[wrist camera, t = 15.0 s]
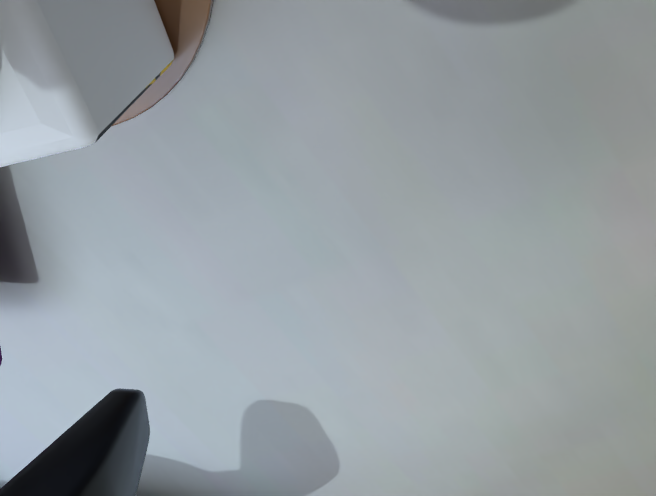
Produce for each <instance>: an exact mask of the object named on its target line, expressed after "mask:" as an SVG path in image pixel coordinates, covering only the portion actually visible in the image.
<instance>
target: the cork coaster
mask: <svg viewBox="0 0 656 496" xmlns="http://www.w3.org/2000/svg"><path fill="white" fill-rule="evenodd" d="M154 1H155V4H156V6H157V9H158V12H159V14H160V17H161V20H162V22H163V25H164V27H165V30H166V33H167V35H168V38H169V41H170V43H171V46H172V49H173V52H174V60H173V62H172V64H171V65H170V66H169V67H168V68H167V69H166V70H165V71H164V72H163V74H162V75H161V76H160V77H159V78H158V79H157V80H156V81H155V82H154V83H153V84H152V85H151V86H150V87H149V88H148V89H147V90H146V91H145V92H144V93H143V94H142V95H141V96H140V97H139V98H138V99H137V100H136V101H135V102H134V103H133V104H132V105H131V106H130V107H129V108H128V109H127V110H126V111H125V112H124V114H123V115H122V116H121V117H120V118H119V119H118V120H117V121H116V122H115V123H114V124H113V125H117V124H119V123H122V122H124V121H127V120H129V119H132V118H134V117H136V116H138V115H139V114H141V113H143V112H145V111H146V110H148V109H150V108H151V107H153V106H154V105H155V104H156V103H157V102H159V101H160V100H161V99H162V98H164V97H165V96H166V95H167V94H168V93H169V92H170V91H171V90H172V89H173V87H174V86H175V85H176V84H177V83H178V82H179V81H180V80H181V79H182V77H183V76H184V74H185V73H186V71H187V70H188V68H189V67H190V65H191V64H192V62H193V61H194V59H195V57H196V55H197V52H198V50H199V48H200V46H201V44H202V42H203V39H204V36H205V33H206V30H207V27H208V23H209V20H210V16H211V10H212V4H213V0H154ZM113 125H112V126H113Z"/></svg>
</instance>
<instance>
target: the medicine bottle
mask: <svg viewBox="0 0 656 496" xmlns="http://www.w3.org/2000/svg"><path fill="white" fill-rule="evenodd" d="M173 60H174V52H173V49H172V46H171V43H170V41H169V38H168V35H167V33H166V30H165V27H164V25H163V22H162V20H161V17H160V14H159V12H158V9H157V6H156V4H155V1H154V0H0V167H3V166H8V165H12V164H16V163H20V162H25V161H29V160H33V159H37V158H42V157H46V156H50V155H54V154H59V153H63V152H67V151H71V150H75V149H80V148H84V147H88V146H90V145H92V144H93V143H95V142H96V141H97V140H98V139H99V138H100V137H101V136H102V135H103V134H104V133H105V132H106V131H107V130H108V129H109V128H110V127H111V126H112V125H113V124H114V123H115V122H116V121H117V120H118V119H119V118H120V117H121V116H122V115H123V114H124V112H125V111H126V110H127V109H128V108H129V107H130V106H131V105H132V104H133V103H134V102H135V101H136V100H137V99H138V98H139V97H140V96H141V95H142V94H143V93H144V92H145V91H146V90H147V89H148V88H149V87H150V86H151V85H152V84H153V83H154V82H155V81H156V80H157V79H158V78H159V77H160V76H161V75H162V74H163V72H164V71H165V70H166V69H167V68H168V67H169V66H170V65H171V64H172V62H173Z"/></svg>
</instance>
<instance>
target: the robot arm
mask: <svg viewBox="0 0 656 496" xmlns="http://www.w3.org/2000/svg"><path fill="white" fill-rule="evenodd" d="M149 435H150V427H149V420H148V414H147V407H146V401H145V396H144V394H143V392H142V391H140V390H133V389H115V390H113V391H111V392H110V393H109V394H108V395H106V396H105V397H104V398H103V399H102V400H101V401H100V402H98V403H97V404H96V405H95V406H94V407H93V408H92V409H91V410H89V411H88V412H87V413H86V414H85V415H84V416H83V417H81V418H80V419H79V420H78V421H77V422H76V423H75V424H73V425H72V426H71V427H70V428H69V429H68V430H67V431H66V432H64V433H63V434H62V435H61V436H60V437H59V438H58V439H56V440H55V441H54V442H53V443H52V444H51V445H50V446H49V447H47V448H46V449H45V450H44V451H43V452H42V453H41V454H39V455H38V456H37V457H36V458H35V459H34V460H33V461H32V462H30V463H29V464H28V465H27V466H26V467H25V468H24V469H22V470H21V471H20V472H19V473H18V474H17V475H16V476H14V477H13V478H12V479H11V480H10V481H9V482H8V483H7V484H5V485H4V486H3V487H2V488H1V489H0V496H136V492H137V488H138V484H139V480H140V476H141V472H142V467H143V463H144V459H145V455H146V451H147V447H148V442H149Z"/></svg>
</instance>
